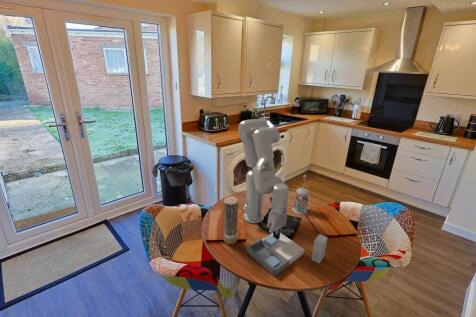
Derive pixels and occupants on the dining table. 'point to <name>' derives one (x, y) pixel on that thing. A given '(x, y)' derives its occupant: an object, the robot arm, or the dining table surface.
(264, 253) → the tray
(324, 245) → the skincare box
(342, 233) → the dining table surface
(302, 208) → the french press
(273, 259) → the tile
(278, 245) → the board
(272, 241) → the tile
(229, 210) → the paper tube
